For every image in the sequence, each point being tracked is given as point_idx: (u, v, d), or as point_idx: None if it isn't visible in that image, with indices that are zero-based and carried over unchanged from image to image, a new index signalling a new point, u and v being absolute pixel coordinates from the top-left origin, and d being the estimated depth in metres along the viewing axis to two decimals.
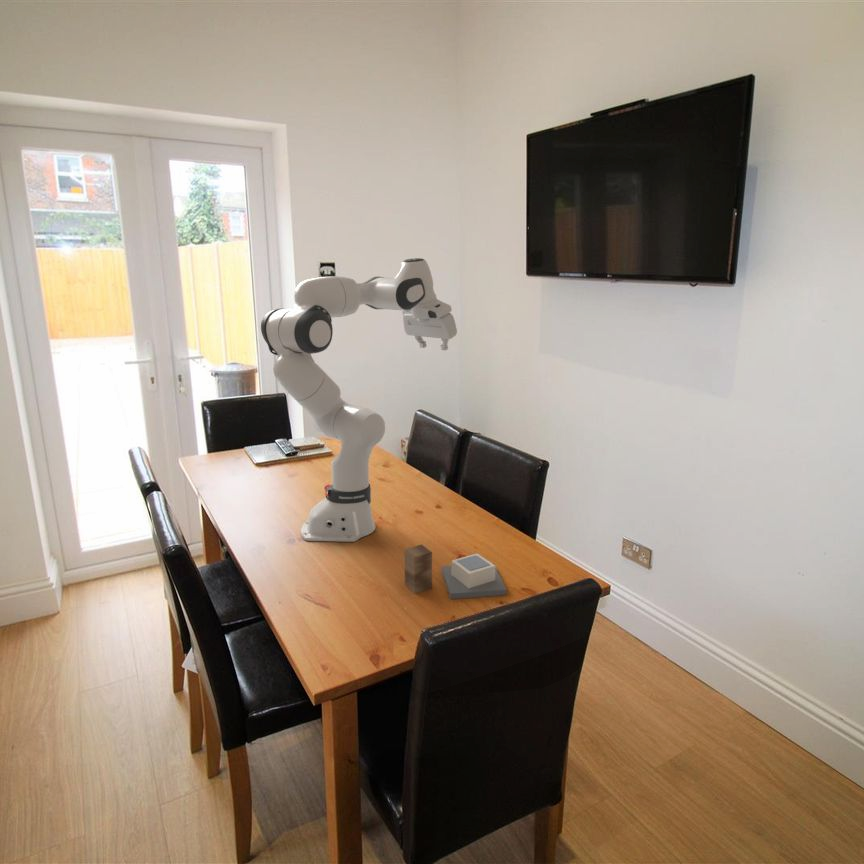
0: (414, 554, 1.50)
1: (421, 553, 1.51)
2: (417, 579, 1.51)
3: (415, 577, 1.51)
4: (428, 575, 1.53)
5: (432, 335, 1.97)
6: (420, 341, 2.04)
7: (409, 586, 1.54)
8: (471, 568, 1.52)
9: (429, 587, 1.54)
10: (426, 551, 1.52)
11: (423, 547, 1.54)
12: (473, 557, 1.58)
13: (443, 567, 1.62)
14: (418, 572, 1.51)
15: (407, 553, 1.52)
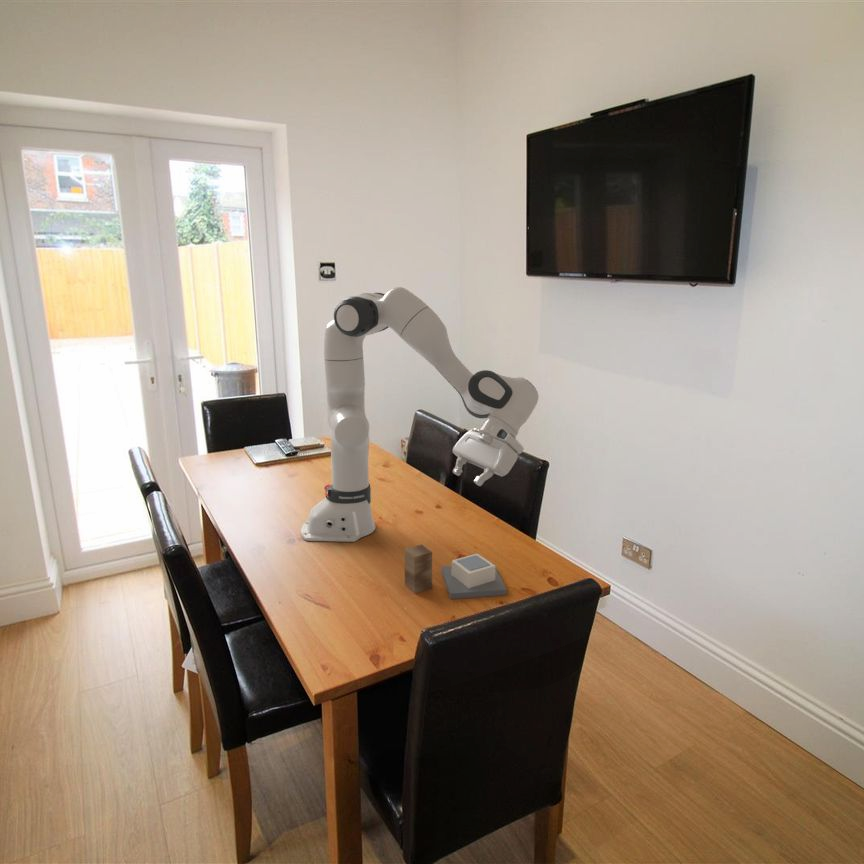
0: (414, 554, 1.50)
1: (421, 553, 1.51)
2: (417, 579, 1.51)
3: (415, 577, 1.51)
4: (428, 575, 1.53)
5: (479, 459, 1.54)
6: (458, 465, 1.60)
7: (409, 586, 1.54)
8: (471, 568, 1.52)
9: (429, 587, 1.54)
10: (426, 551, 1.52)
11: (423, 547, 1.54)
12: (473, 557, 1.58)
13: (443, 567, 1.62)
14: (418, 572, 1.51)
15: (407, 553, 1.52)
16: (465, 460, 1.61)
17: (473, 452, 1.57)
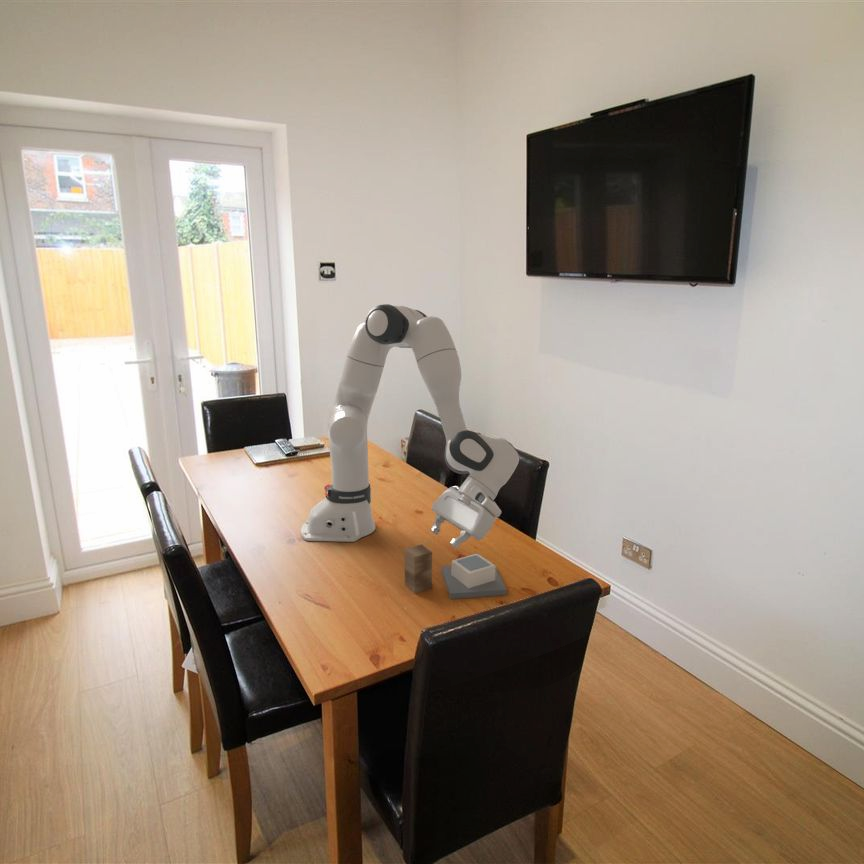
0: (414, 554, 1.50)
1: (421, 553, 1.51)
2: (417, 579, 1.51)
3: (415, 577, 1.51)
4: (428, 575, 1.53)
5: (457, 521, 1.53)
6: (436, 524, 1.60)
7: (409, 586, 1.54)
8: (471, 568, 1.52)
9: (429, 587, 1.54)
10: (426, 551, 1.52)
11: (423, 547, 1.54)
12: (473, 557, 1.58)
13: (443, 567, 1.62)
14: (418, 572, 1.51)
15: (407, 553, 1.52)
16: (443, 518, 1.61)
17: (451, 512, 1.57)
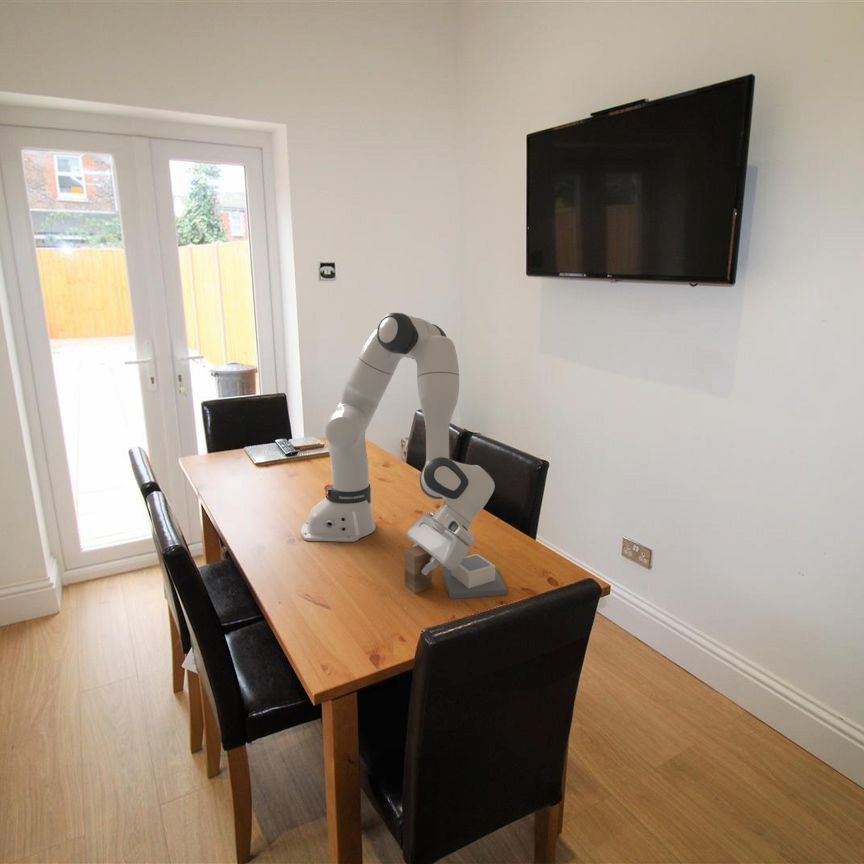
0: (414, 554, 1.50)
1: (421, 553, 1.51)
2: (416, 579, 1.51)
3: (415, 577, 1.51)
4: (428, 575, 1.53)
5: (430, 550, 1.51)
6: None
7: (409, 586, 1.54)
8: (471, 568, 1.52)
9: (429, 587, 1.54)
10: (426, 551, 1.52)
11: None
12: (473, 557, 1.58)
13: (443, 567, 1.62)
14: (418, 572, 1.51)
15: (407, 553, 1.52)
16: None
17: (425, 540, 1.54)
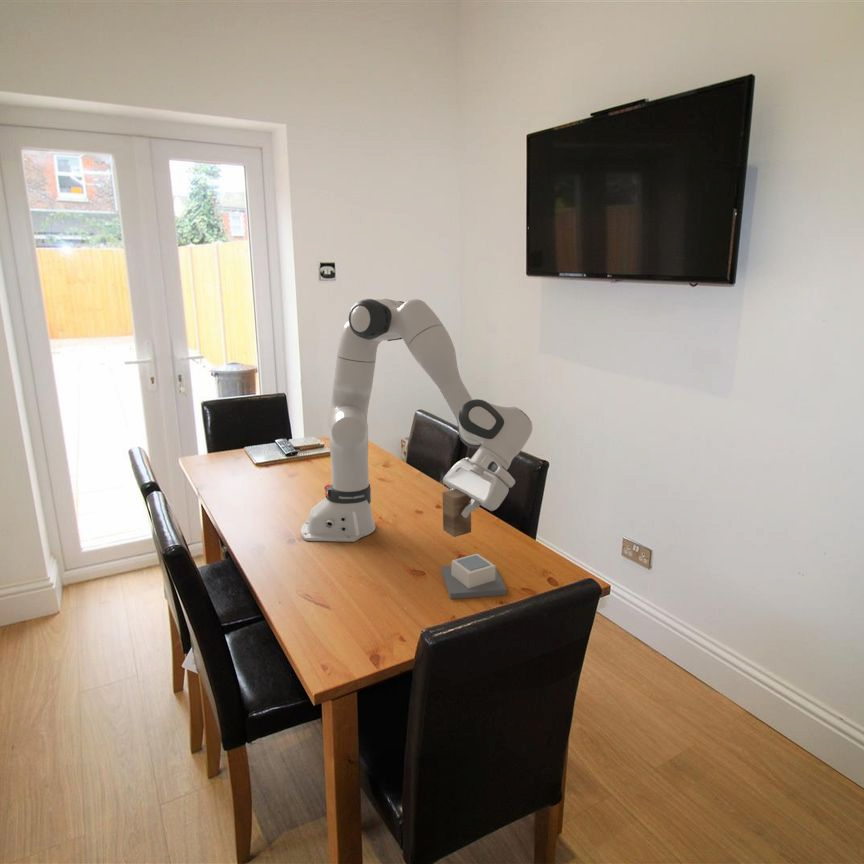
0: (452, 496, 1.47)
1: (460, 495, 1.48)
2: (456, 522, 1.48)
3: (454, 520, 1.48)
4: (467, 518, 1.50)
5: (469, 492, 1.48)
6: None
7: (448, 530, 1.51)
8: (471, 568, 1.52)
9: (469, 531, 1.51)
10: None
11: None
12: (473, 557, 1.58)
13: (443, 567, 1.62)
14: (457, 514, 1.48)
15: (445, 496, 1.49)
16: None
17: (463, 483, 1.52)
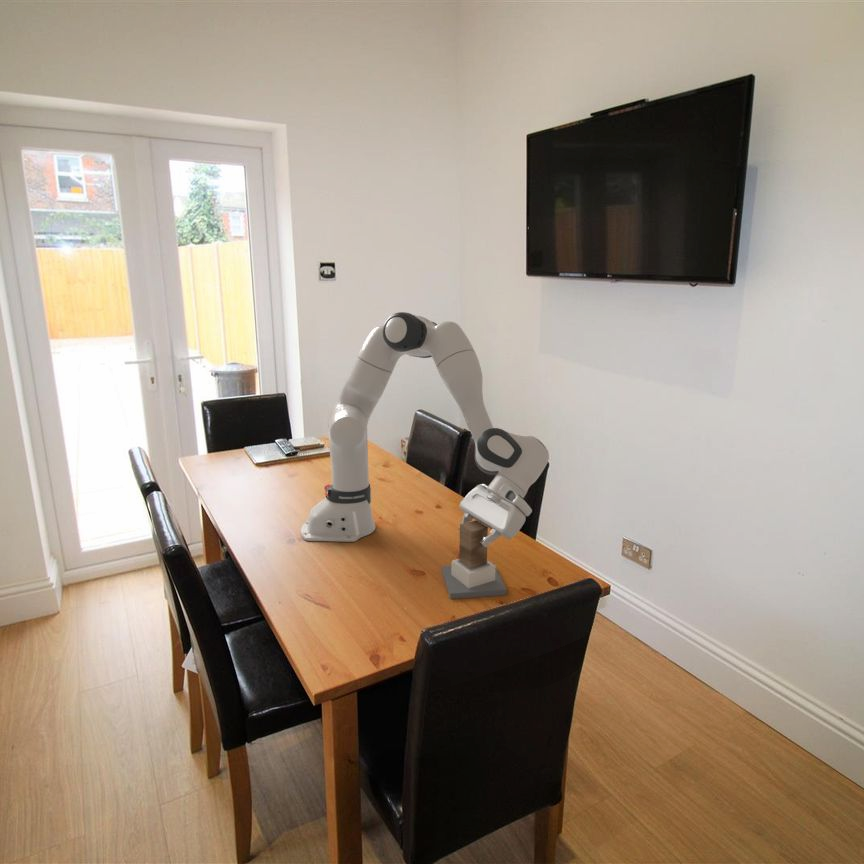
0: (470, 529, 1.51)
1: (477, 528, 1.51)
2: (473, 554, 1.51)
3: (471, 552, 1.51)
4: (483, 550, 1.53)
5: (486, 519, 1.51)
6: (464, 522, 1.58)
7: (464, 561, 1.54)
8: None
9: (484, 562, 1.54)
10: (482, 526, 1.52)
11: (478, 523, 1.54)
12: None
13: (443, 567, 1.62)
14: (474, 547, 1.51)
15: (463, 528, 1.52)
16: (471, 517, 1.59)
17: (480, 511, 1.54)
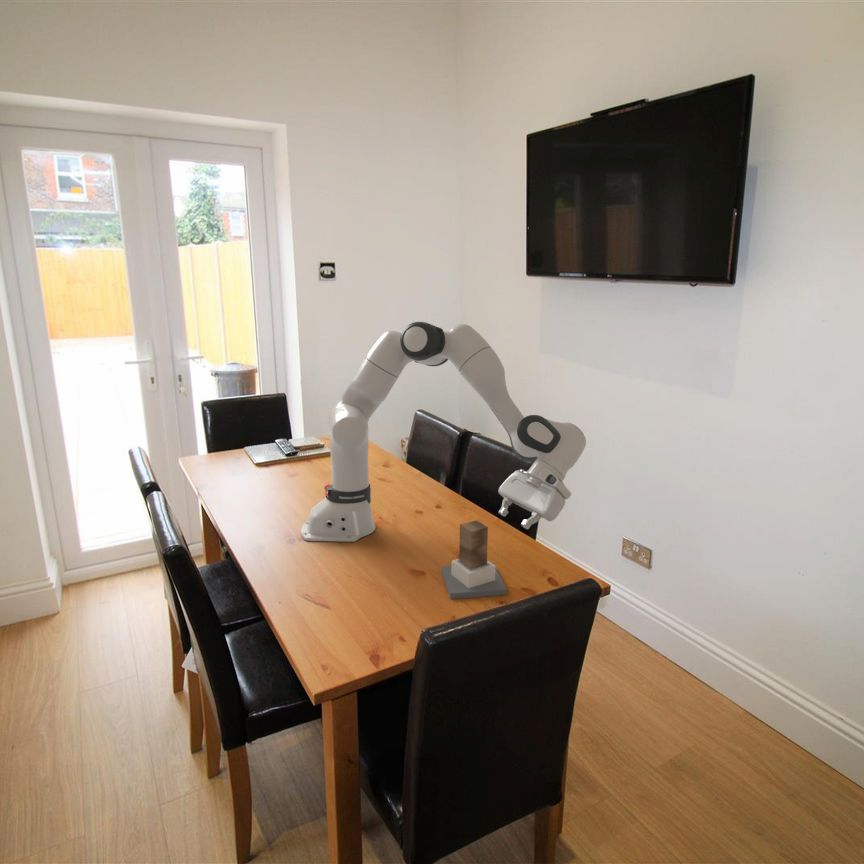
0: (470, 529, 1.51)
1: (477, 528, 1.51)
2: (473, 554, 1.51)
3: (471, 552, 1.51)
4: (483, 550, 1.53)
5: (527, 503, 1.57)
6: (504, 506, 1.63)
7: (464, 561, 1.54)
8: None
9: (484, 562, 1.54)
10: (482, 526, 1.52)
11: (478, 523, 1.54)
12: None
13: (443, 567, 1.62)
14: (474, 547, 1.51)
15: (463, 528, 1.52)
16: (511, 501, 1.64)
17: (520, 494, 1.60)
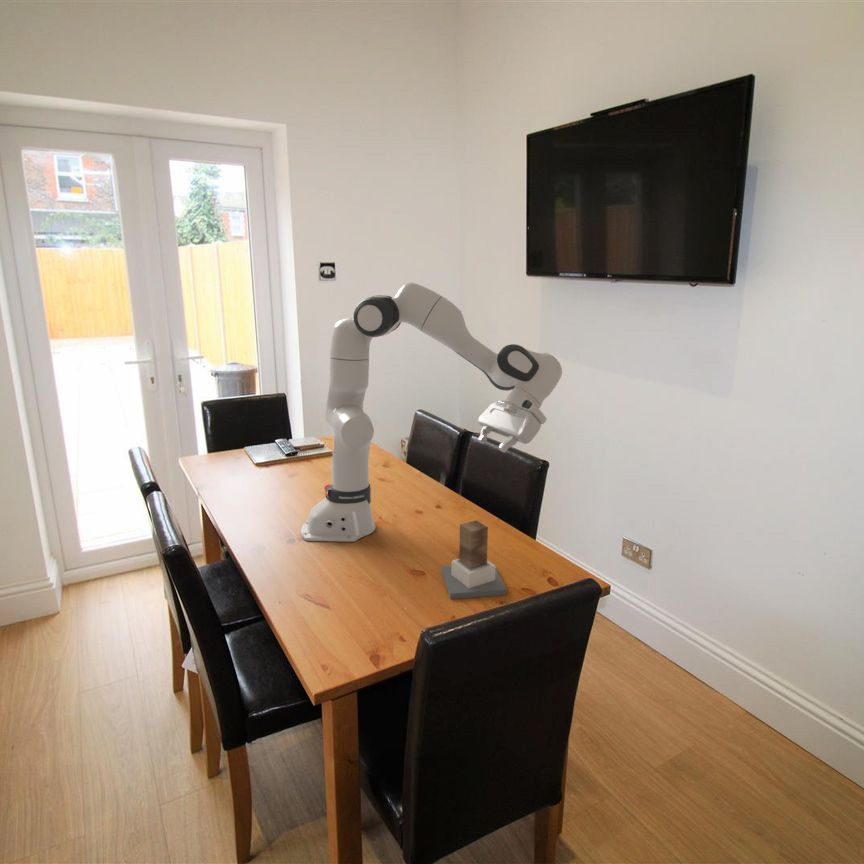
0: (470, 529, 1.51)
1: (477, 528, 1.51)
2: (473, 554, 1.51)
3: (471, 552, 1.51)
4: (483, 550, 1.53)
5: (504, 428, 1.63)
6: (483, 434, 1.69)
7: (464, 561, 1.54)
8: None
9: (484, 562, 1.54)
10: (482, 526, 1.52)
11: (478, 523, 1.54)
12: None
13: (443, 567, 1.62)
14: (474, 547, 1.51)
15: (463, 528, 1.52)
16: (490, 429, 1.70)
17: (498, 421, 1.66)
